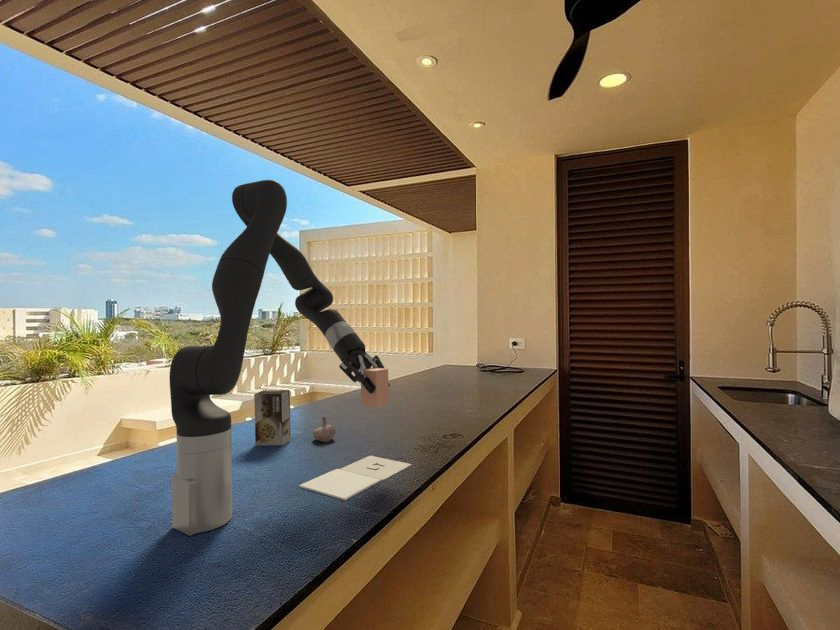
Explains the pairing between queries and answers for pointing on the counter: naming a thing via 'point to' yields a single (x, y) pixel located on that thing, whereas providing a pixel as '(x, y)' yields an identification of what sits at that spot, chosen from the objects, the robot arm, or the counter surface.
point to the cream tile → (376, 467)
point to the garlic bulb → (324, 432)
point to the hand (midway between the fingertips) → (380, 389)
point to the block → (381, 383)
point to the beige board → (340, 484)
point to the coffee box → (272, 417)
